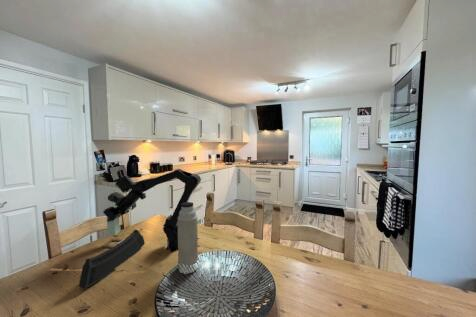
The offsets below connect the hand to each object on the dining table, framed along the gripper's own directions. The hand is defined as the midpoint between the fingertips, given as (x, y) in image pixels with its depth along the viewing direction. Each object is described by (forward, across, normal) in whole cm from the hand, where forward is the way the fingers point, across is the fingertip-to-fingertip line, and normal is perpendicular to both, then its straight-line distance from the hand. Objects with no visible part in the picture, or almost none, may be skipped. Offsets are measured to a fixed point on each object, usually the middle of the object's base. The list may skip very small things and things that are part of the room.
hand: (110, 219), depth 101 cm
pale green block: (+4, 0, +6) cm, 7 cm away
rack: (+9, 0, +10) cm, 14 cm away
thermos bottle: (-22, +16, +41) cm, 50 cm away
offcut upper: (+4, 0, +14) cm, 15 cm away
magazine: (0, +16, +20) cm, 26 cm away
